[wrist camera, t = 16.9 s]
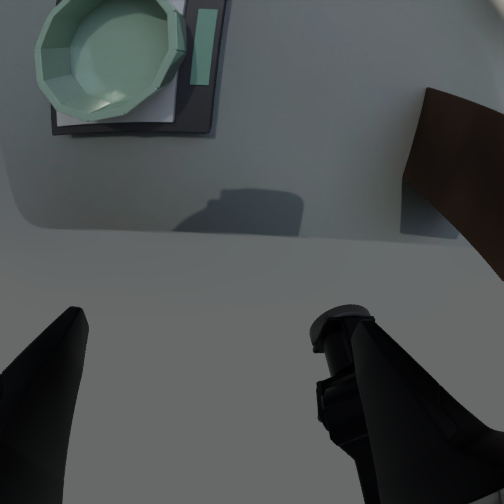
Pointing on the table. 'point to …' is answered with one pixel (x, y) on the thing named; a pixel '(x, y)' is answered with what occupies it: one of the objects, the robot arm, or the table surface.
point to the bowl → (108, 55)
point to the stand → (462, 169)
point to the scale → (172, 83)
